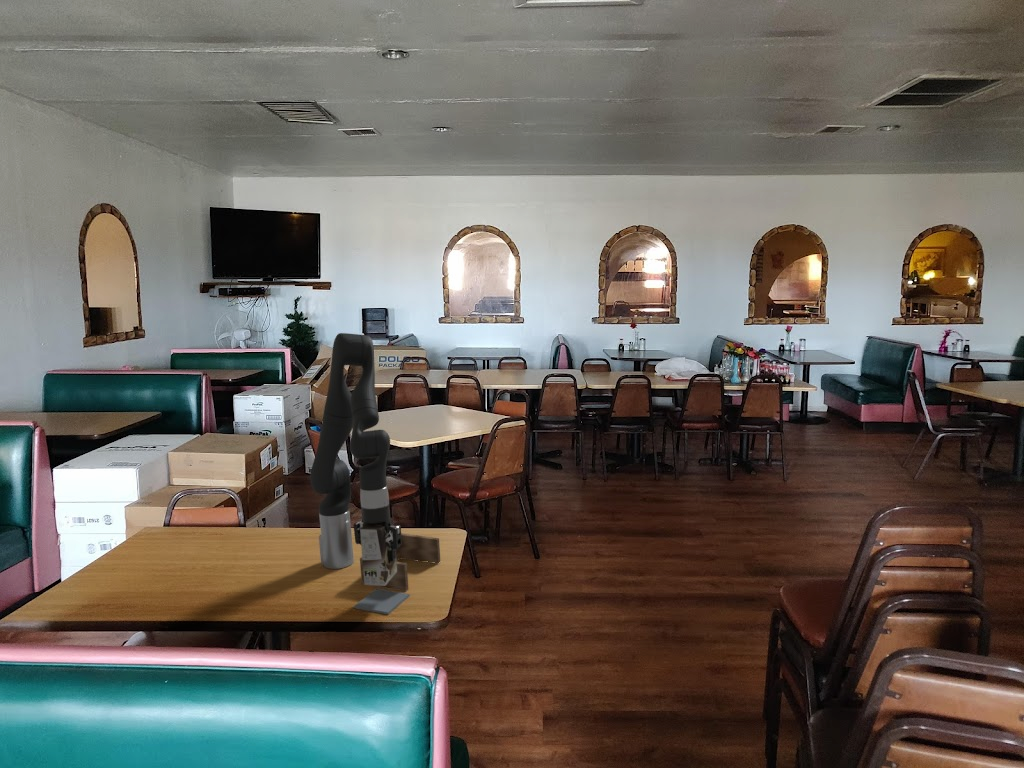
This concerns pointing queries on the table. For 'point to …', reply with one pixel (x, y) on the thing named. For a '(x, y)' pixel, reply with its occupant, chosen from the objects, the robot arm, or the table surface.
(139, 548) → the table surface
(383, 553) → the coffee box
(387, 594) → the mat
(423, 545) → the cubby
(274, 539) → the table surface
